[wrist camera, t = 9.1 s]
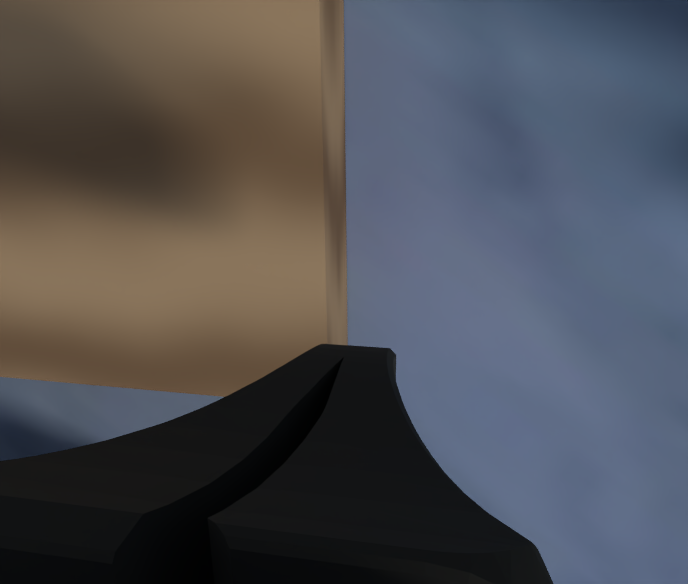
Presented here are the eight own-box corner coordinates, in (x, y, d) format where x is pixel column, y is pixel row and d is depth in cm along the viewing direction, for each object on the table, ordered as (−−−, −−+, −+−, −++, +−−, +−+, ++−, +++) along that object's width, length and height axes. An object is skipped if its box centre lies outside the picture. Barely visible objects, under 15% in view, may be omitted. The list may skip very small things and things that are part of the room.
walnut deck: (347, 361, 22) (328, 405, 19) (-13, 334, 24) (-76, 369, 22) (342, -113, 17) (315, -147, 14) (-105, -83, 20) (-200, -107, 17)
